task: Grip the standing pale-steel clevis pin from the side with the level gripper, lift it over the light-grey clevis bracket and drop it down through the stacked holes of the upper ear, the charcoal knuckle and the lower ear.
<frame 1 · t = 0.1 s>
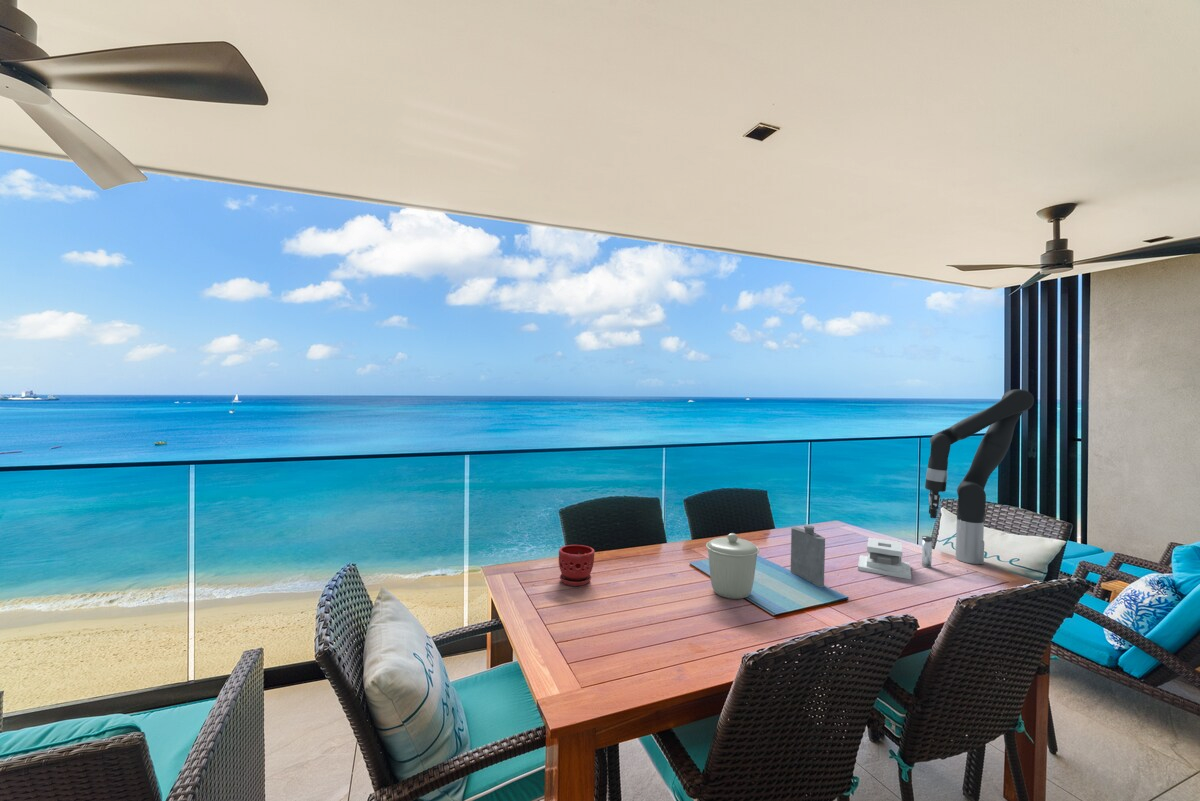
hand: (932, 515, 215), 17 cm above the table, tool pointing down, fingers open, 8 cm apart
clevis bracket: (884, 568, 199), on the table
clevis pin: (926, 566, 201), on the table
canister: (731, 593, 173), on the table
plant pot: (576, 581, 182), on the table
hip flask: (807, 578, 187), on the table
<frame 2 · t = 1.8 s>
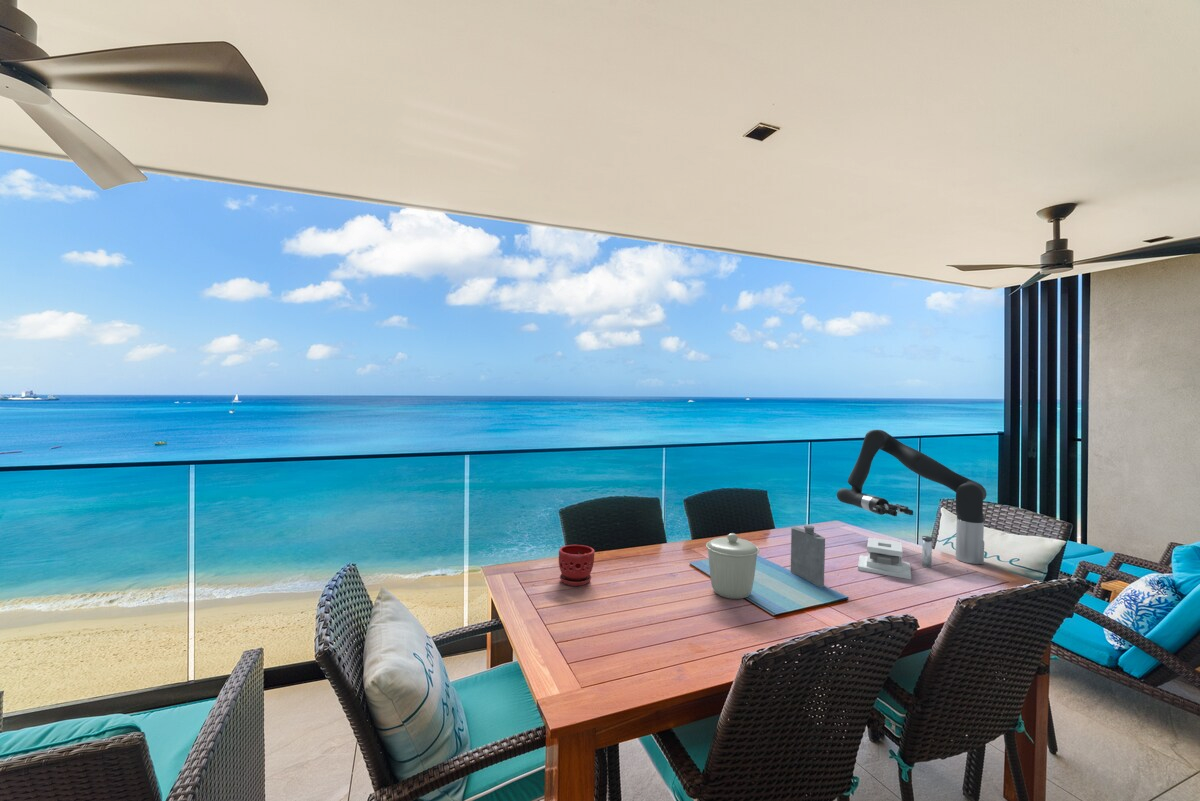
hand: (904, 513, 212), 19 cm above the table, tool horizontal, fingers open, 8 cm apart
nothing on the table moved.
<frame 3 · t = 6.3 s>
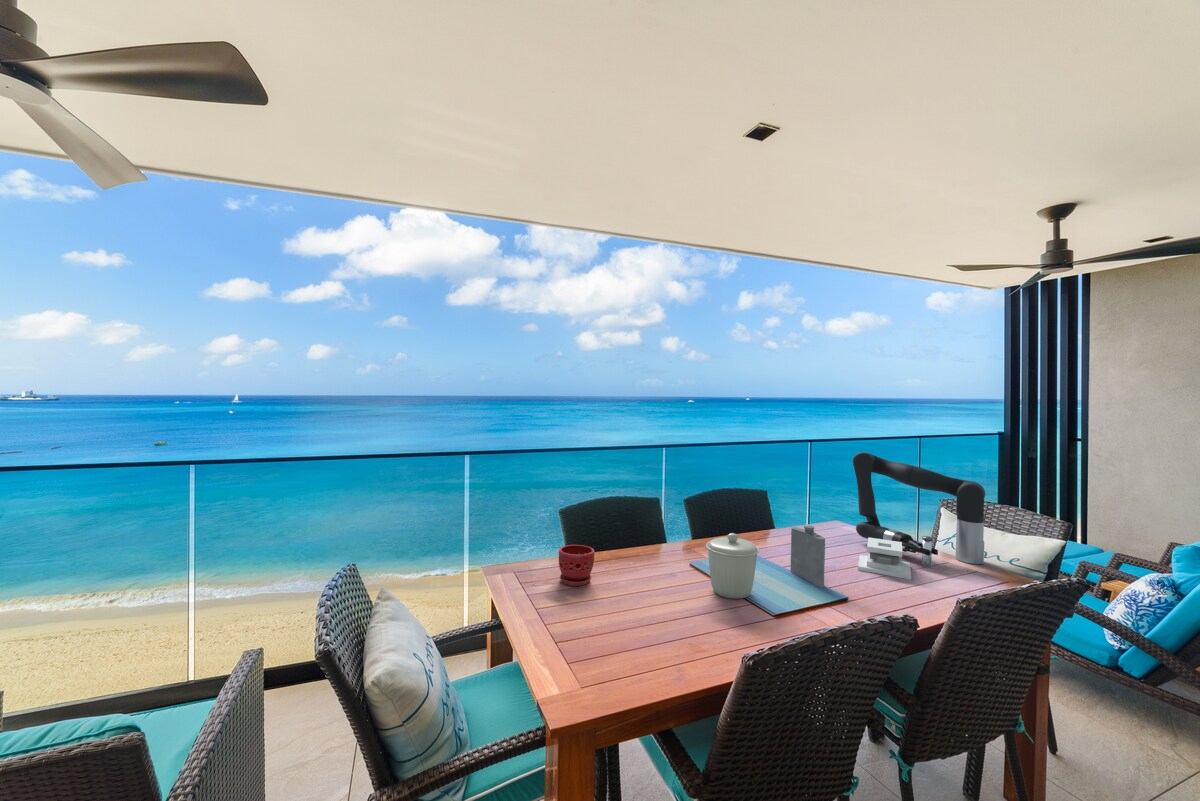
hand: (933, 552, 198), 7 cm above the table, tool horizontal, fingers closed on clevis pin, 3 cm apart
clevis pin: (926, 566, 201), on the table, touching gripper
everything else where it was.
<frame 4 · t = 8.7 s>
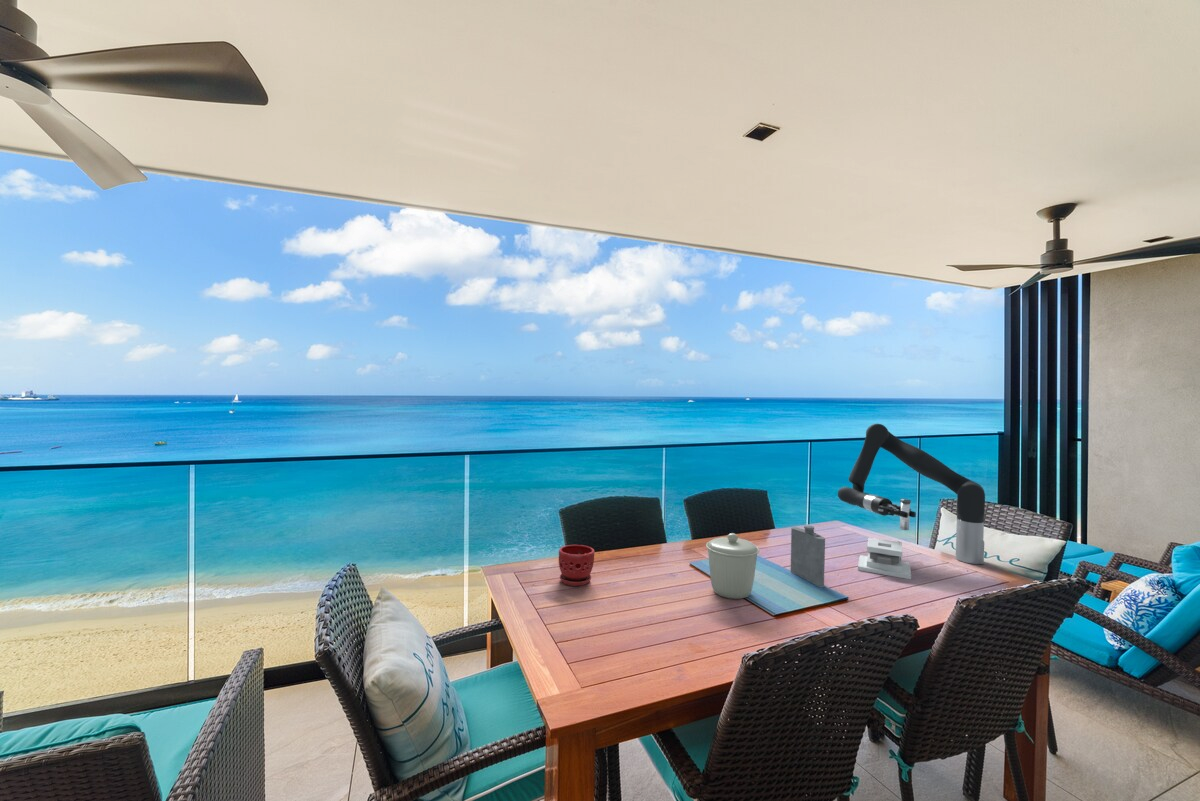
hand: (911, 515, 197), 22 cm above the table, tool horizontal, fingers closed on clevis pin, 3 cm apart
clevis pin: (904, 529, 200), point 15 cm above the table, touching gripper
everything else where it was.
when the fingers open (15 cm above the table, at t = 11.3 s): clevis pin drops 7 cm, resting on clevis bracket.
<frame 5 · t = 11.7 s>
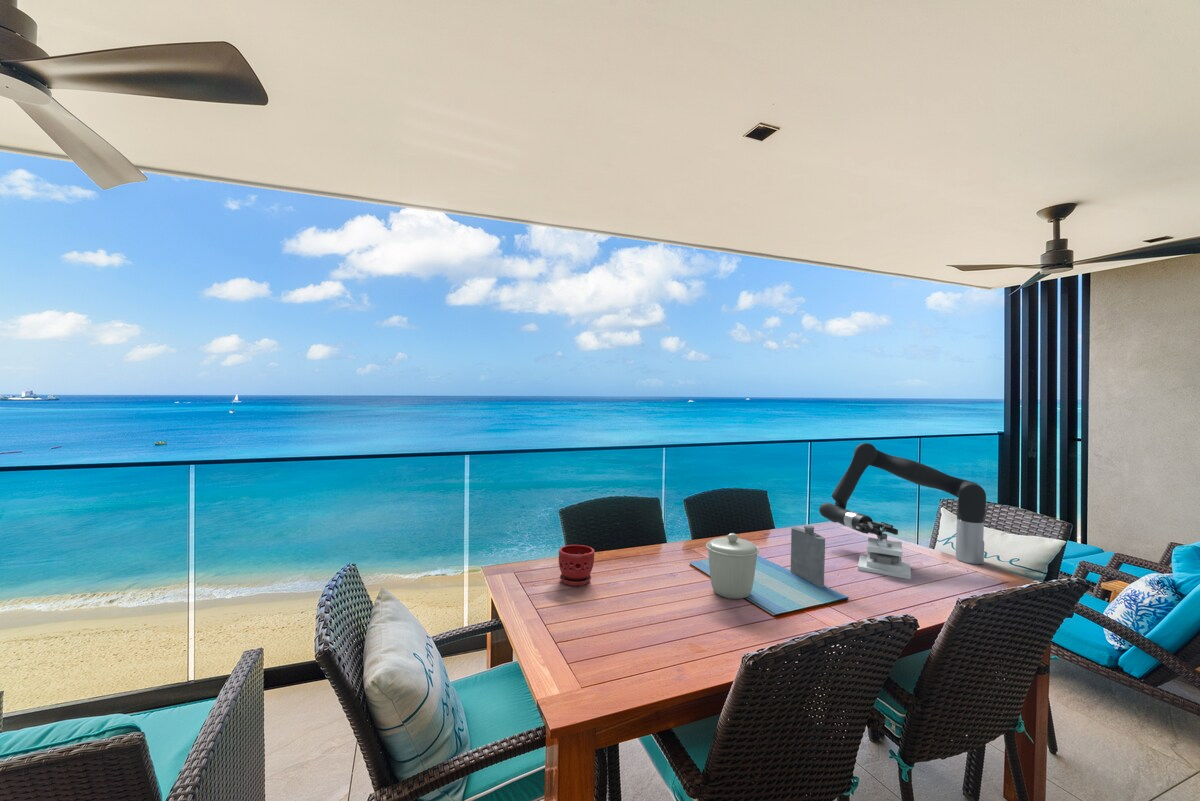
hand: (889, 532, 196), 15 cm above the table, tool horizontal, fingers open, 7 cm apart
clevis pin: (884, 564, 199), point 2 cm above the table, touching clevis bracket
everything else where it was.
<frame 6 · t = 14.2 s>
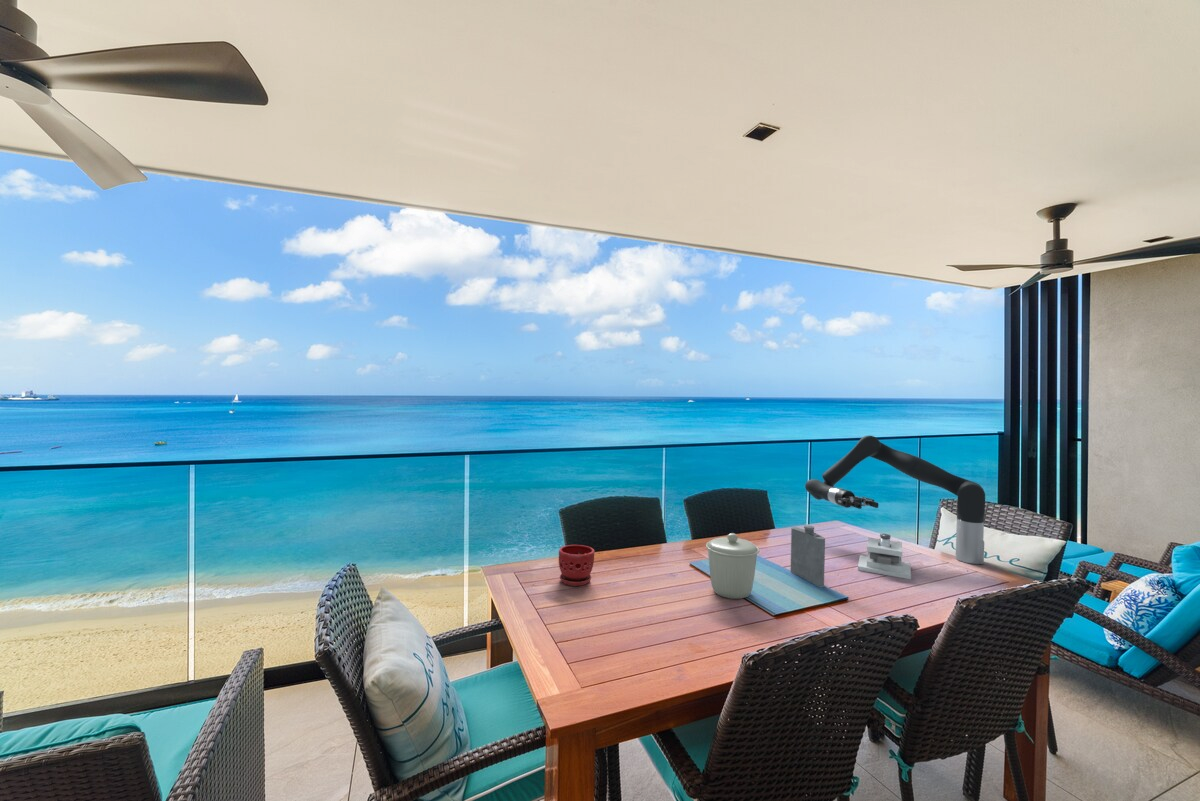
hand: (869, 506, 206), 23 cm above the table, tool horizontal, fingers open, 8 cm apart
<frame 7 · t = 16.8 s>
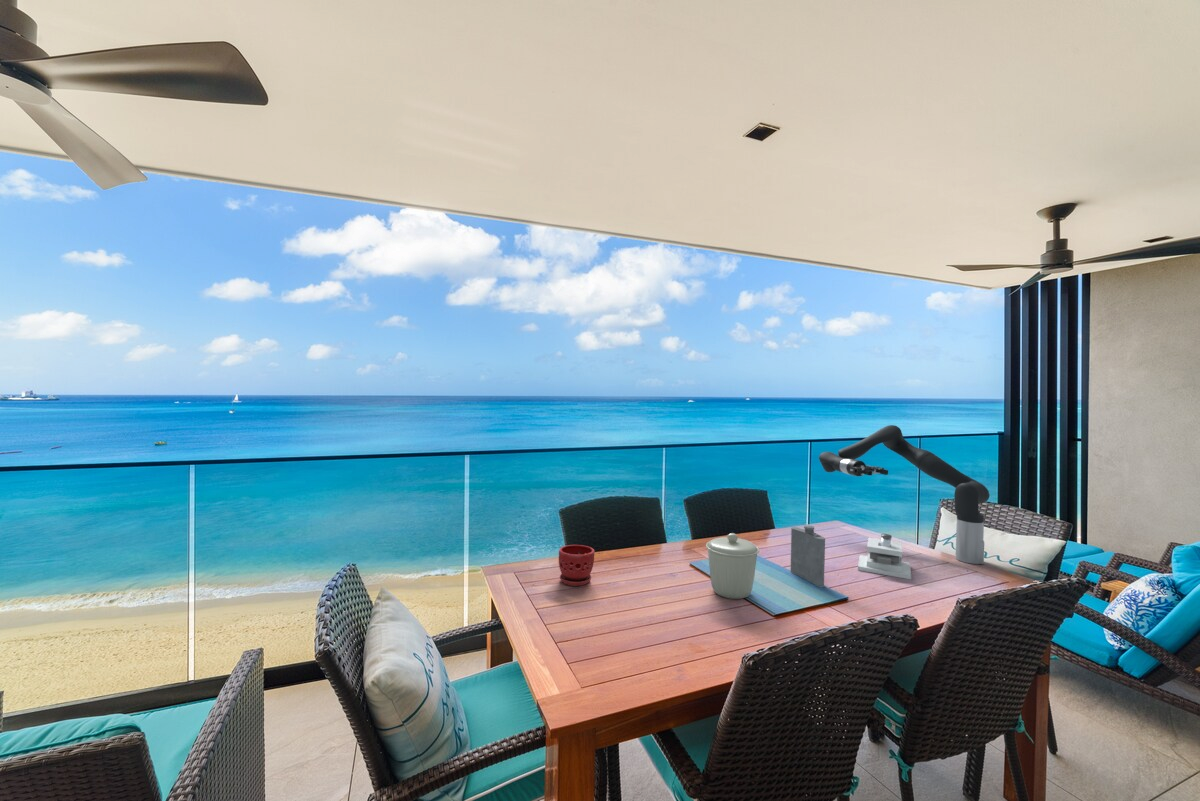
hand: (879, 472, 219), 35 cm above the table, tool horizontal, fingers open, 8 cm apart
nothing on the table moved.
at the end: clevis pin 0.1 cm off-centre on the clevis bracket, point 1.6 cm above the clevis bracket's base; clevis pin tilted 3°; the gripper is holding nothing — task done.
